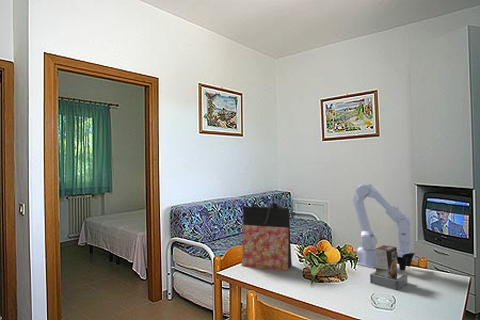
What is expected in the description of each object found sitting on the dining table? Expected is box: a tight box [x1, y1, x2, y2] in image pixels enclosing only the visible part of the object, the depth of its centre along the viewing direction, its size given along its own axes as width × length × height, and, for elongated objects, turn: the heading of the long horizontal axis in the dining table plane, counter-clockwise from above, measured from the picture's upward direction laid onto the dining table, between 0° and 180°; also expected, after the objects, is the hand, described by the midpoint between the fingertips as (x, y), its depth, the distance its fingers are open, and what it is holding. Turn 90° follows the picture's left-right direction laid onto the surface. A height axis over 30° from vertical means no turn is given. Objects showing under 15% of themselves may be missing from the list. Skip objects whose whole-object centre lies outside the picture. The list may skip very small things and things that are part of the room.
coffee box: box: [375, 245, 398, 280], centre depth 143 cm, size 9×6×16 cm
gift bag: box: [241, 202, 296, 272], centre depth 168 cm, size 29×14×35 cm, turn 69°
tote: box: [369, 270, 408, 291], centre depth 142 cm, size 12×12×4 cm
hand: (405, 268), depth 157 cm, fingers open, 7 cm apart
